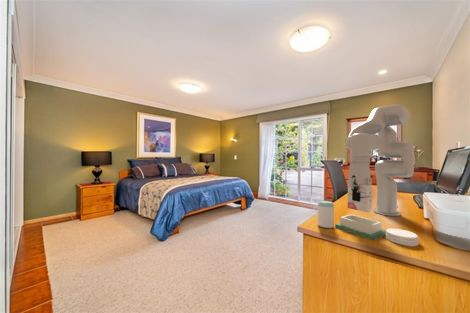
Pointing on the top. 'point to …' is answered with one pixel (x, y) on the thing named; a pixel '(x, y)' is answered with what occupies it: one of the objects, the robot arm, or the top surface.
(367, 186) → the ink cartridge box
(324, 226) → the can
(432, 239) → the top surface
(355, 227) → the green and cream tray
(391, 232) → the white short cylinder
